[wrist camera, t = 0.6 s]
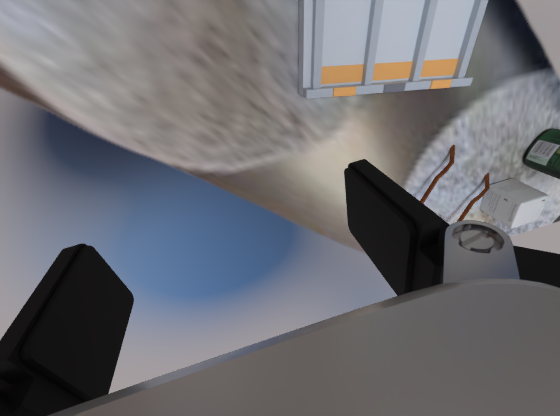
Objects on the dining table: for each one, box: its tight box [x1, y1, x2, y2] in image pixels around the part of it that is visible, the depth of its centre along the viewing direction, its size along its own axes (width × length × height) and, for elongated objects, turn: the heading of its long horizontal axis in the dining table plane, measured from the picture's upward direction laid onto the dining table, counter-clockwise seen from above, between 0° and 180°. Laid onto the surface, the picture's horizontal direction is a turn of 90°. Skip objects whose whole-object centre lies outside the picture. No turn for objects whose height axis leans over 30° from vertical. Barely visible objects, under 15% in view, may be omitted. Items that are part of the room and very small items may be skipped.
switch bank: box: [299, 0, 488, 99], centre depth 31 cm, size 19×24×4 cm
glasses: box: [420, 145, 490, 222], centre depth 50 cm, size 13×13×5 cm
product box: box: [480, 178, 549, 228], centre depth 53 cm, size 6×6×7 cm
